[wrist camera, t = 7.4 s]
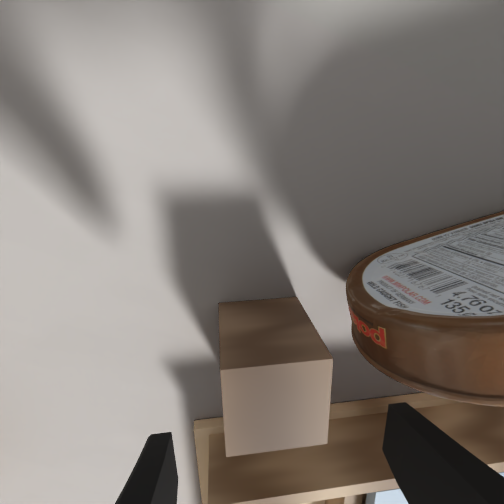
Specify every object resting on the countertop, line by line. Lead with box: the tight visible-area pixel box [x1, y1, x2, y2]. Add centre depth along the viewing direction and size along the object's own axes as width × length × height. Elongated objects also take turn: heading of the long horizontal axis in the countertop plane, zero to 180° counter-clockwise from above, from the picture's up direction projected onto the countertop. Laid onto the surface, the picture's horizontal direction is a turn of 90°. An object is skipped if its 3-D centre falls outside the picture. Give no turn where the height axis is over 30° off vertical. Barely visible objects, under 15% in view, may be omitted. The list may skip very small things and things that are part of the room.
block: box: [218, 297, 333, 457], centre depth 13 cm, size 4×4×5 cm
